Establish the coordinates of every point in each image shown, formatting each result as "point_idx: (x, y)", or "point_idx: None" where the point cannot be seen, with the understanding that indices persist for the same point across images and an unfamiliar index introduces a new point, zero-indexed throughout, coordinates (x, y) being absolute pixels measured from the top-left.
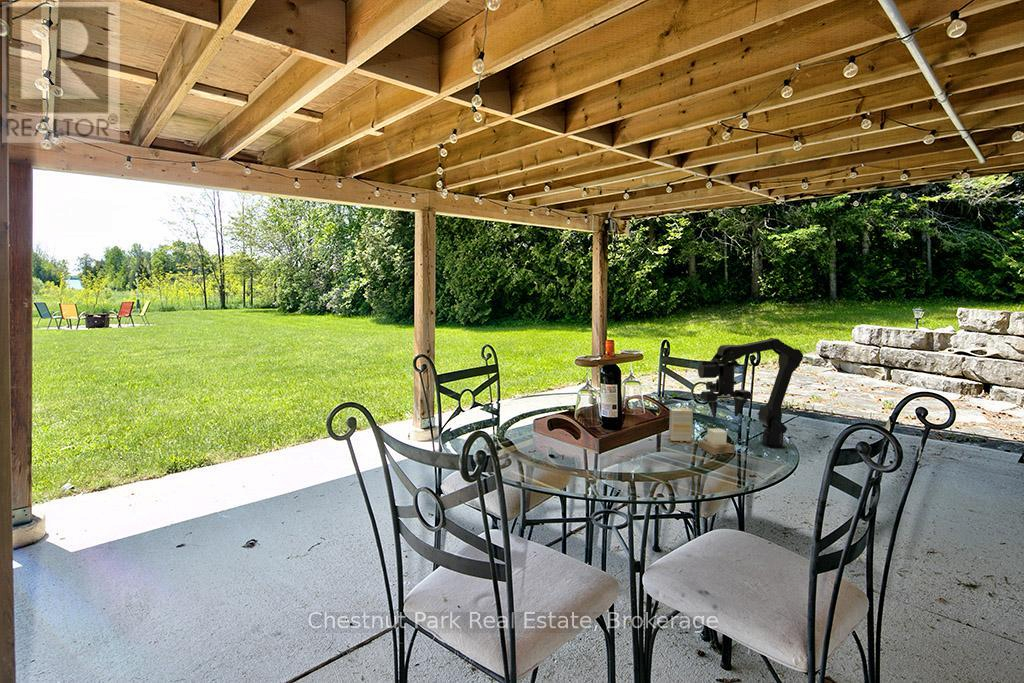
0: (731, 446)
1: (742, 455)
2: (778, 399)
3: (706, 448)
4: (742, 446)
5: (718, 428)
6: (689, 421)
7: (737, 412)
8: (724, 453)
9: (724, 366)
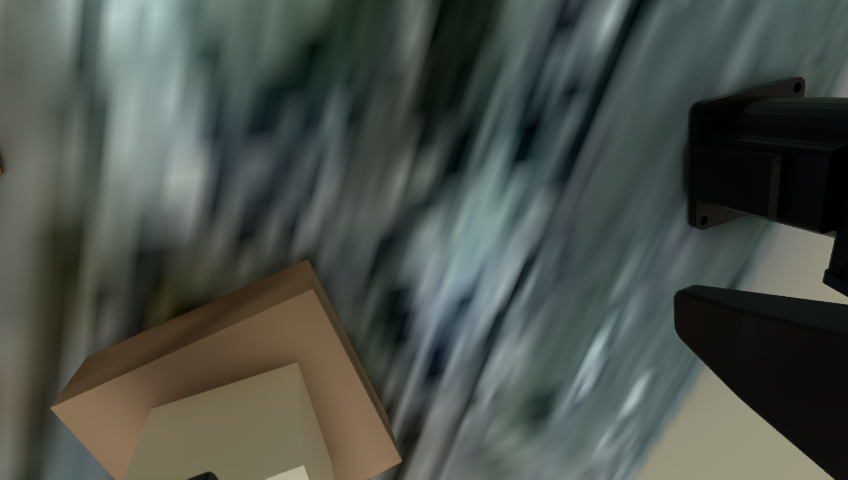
0: (371, 473)
1: (432, 434)
2: None
3: None
4: (516, 219)
5: (279, 476)
6: None
7: (756, 410)
8: None
9: None
